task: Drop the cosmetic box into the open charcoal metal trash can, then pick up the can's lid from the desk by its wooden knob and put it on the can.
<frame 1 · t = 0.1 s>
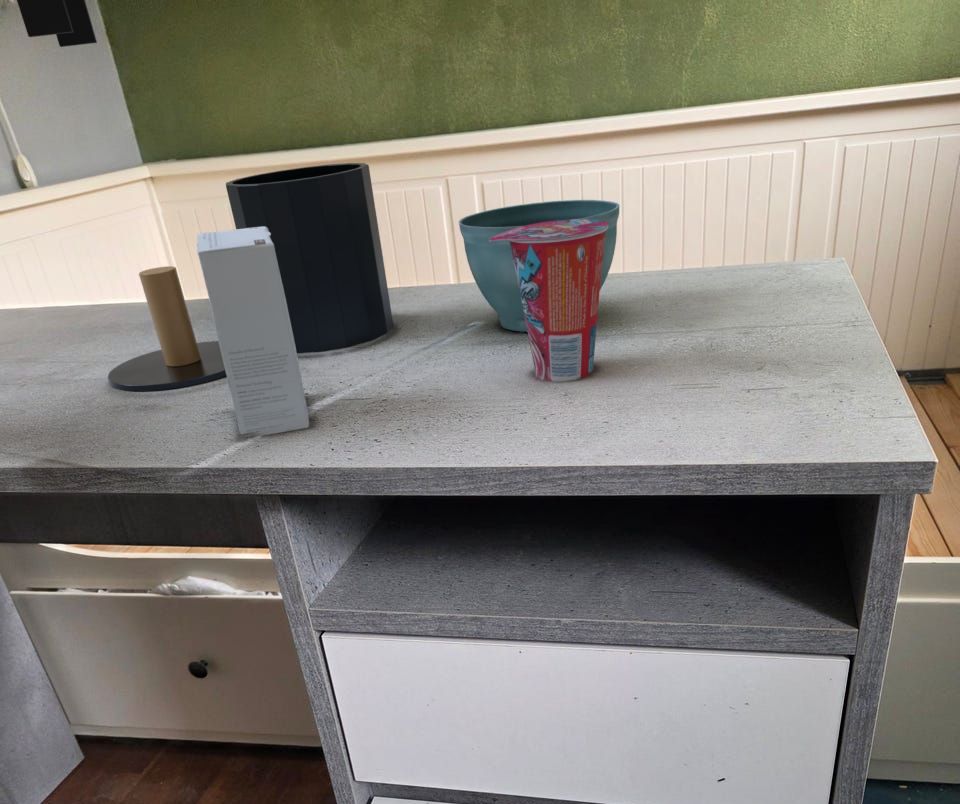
hand: (66, 40, 62), 28 cm above the table, tool pointing down, fingers open, 13 cm apart
cup: (560, 376, 78), on the table
flower pot: (545, 324, 94), on the table
cosmetic box: (276, 422, 76), on the table
trash can: (329, 339, 98), on the table
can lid: (185, 367, 92), point 1 cm above the table
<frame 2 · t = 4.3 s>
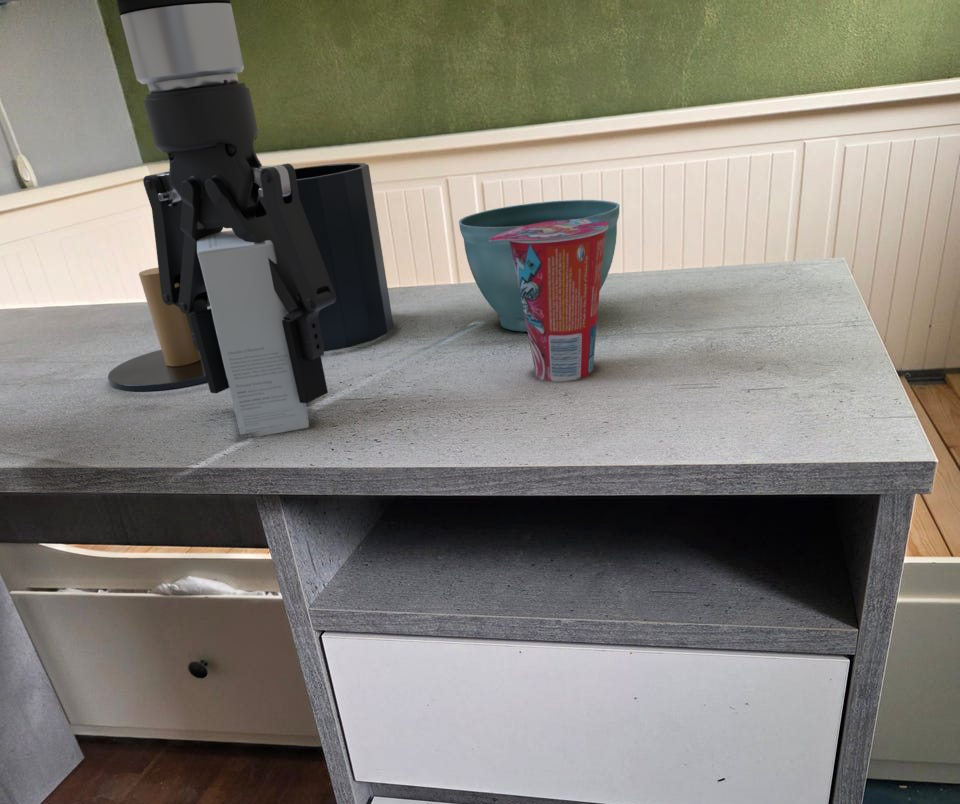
hand: (267, 392, 75), 2 cm above the table, tool pointing down, fingers closed on cosmetic box, 10 cm apart
cosmetic box: (275, 422, 76), on the table, touching gripper
everything else where it was.
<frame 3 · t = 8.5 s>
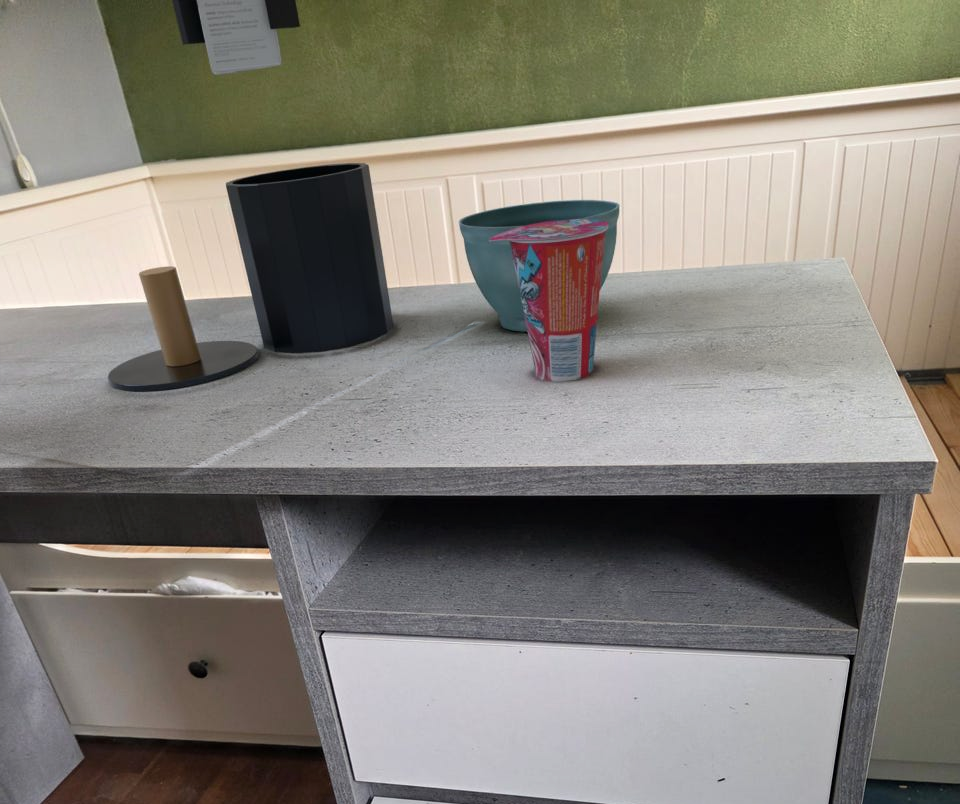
hand: (240, 36, 73), 28 cm above the table, tool pointing down, fingers closed on cosmetic box, 10 cm apart
cosmetic box: (249, 73, 74), point 25 cm above the table, touching gripper
everything else where it was.
when the fingers open (18 cm above the table, at t = 12.6 s): cosmetic box drops 15 cm, resting on trash can.
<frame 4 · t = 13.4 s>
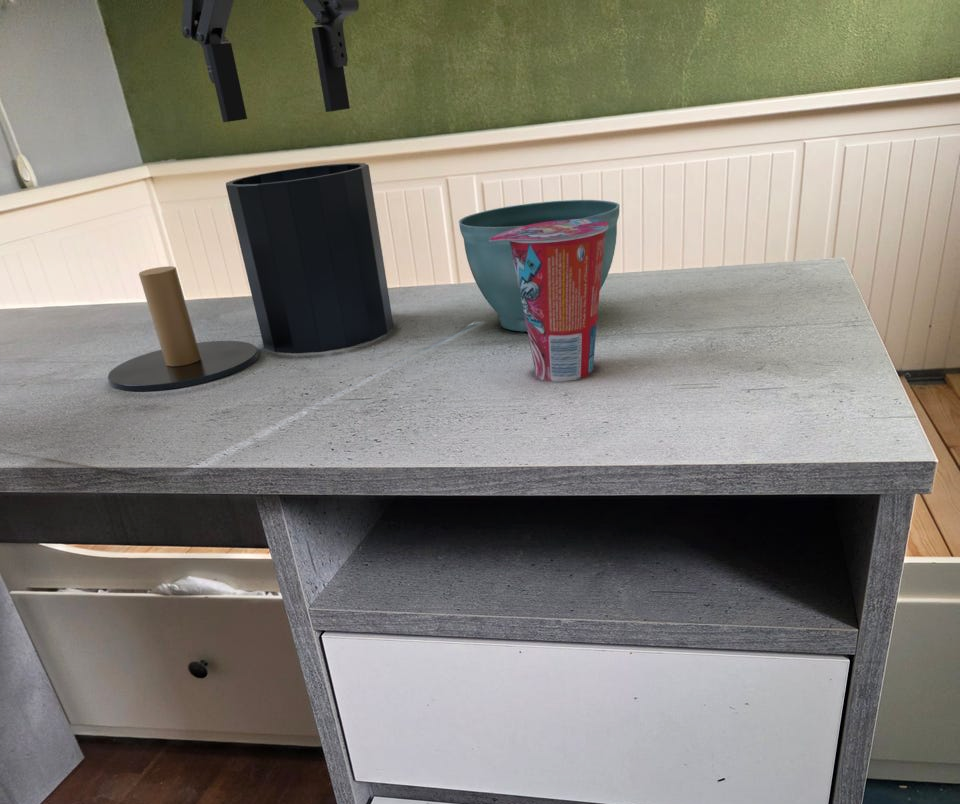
hand: (284, 116, 86), 22 cm above the table, tool pointing down, fingers open, 13 cm apart
cosmetic box: (327, 336, 98), resting on trash can
everything else where it was.
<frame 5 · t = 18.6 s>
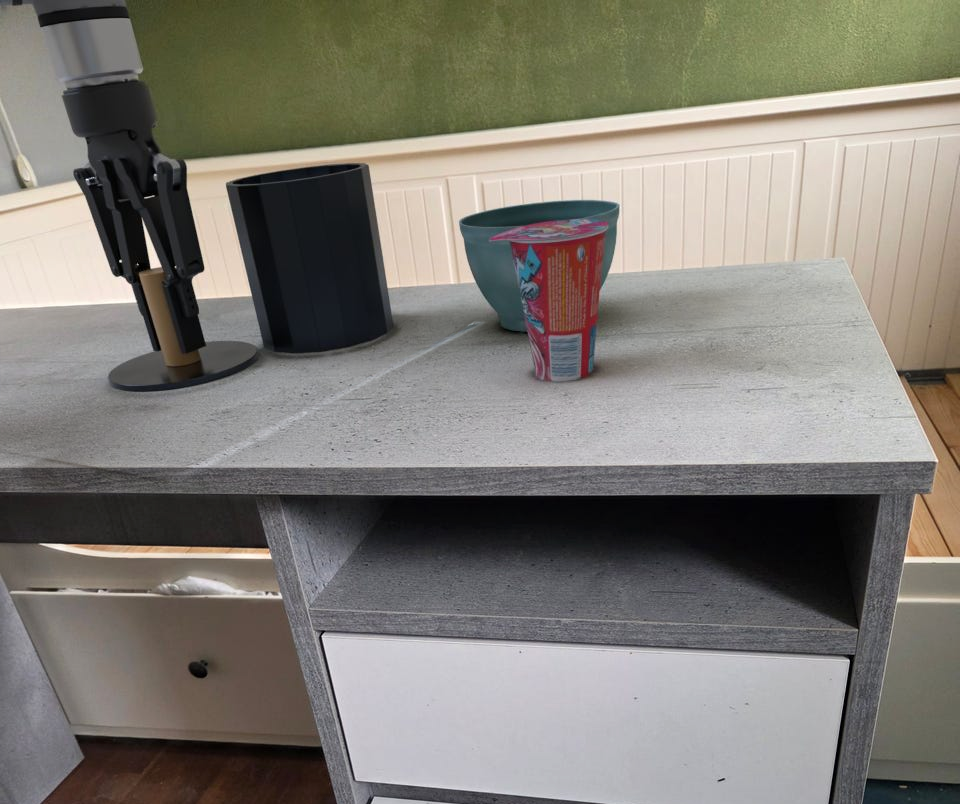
hand: (179, 348, 91), 3 cm above the table, tool pointing down, fingers closed on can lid, 4 cm apart
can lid: (185, 367, 92), point 1 cm above the table, touching gripper
everything else where it was.
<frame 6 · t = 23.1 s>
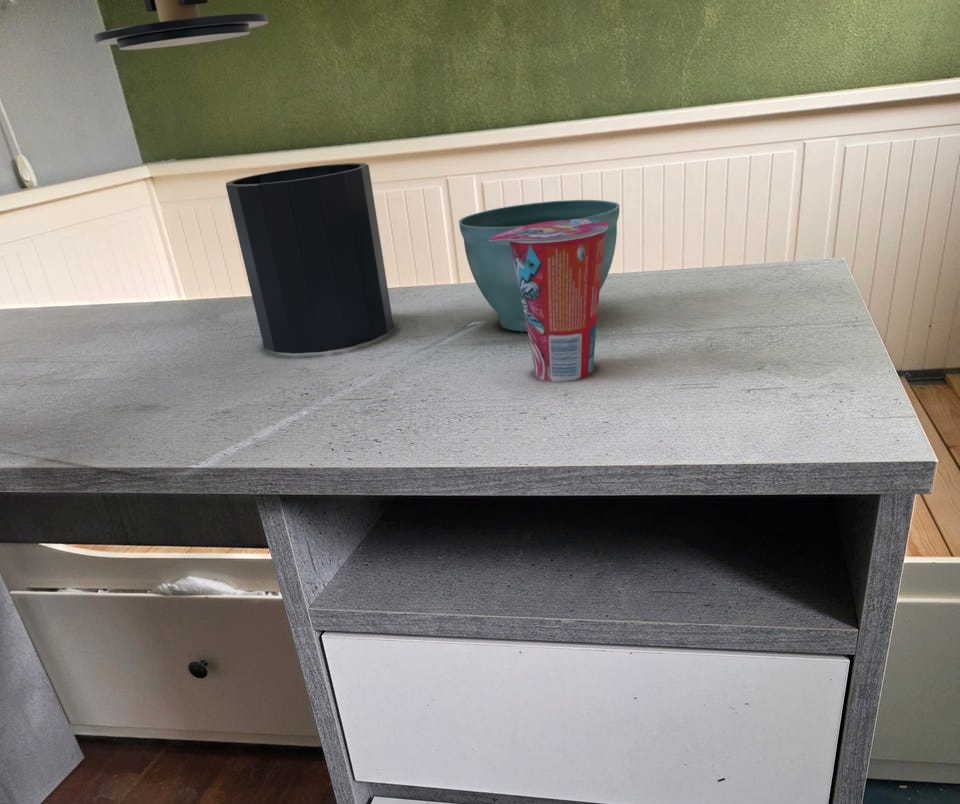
hand: (177, 6, 78), 31 cm above the table, tool pointing down, fingers closed on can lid, 4 cm apart
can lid: (183, 33, 79), point 29 cm above the table, touching gripper
everything else where it was.
when the fingers open (18 cm above the table, at t = 27.6 s): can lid stays where it is, resting on trash can.
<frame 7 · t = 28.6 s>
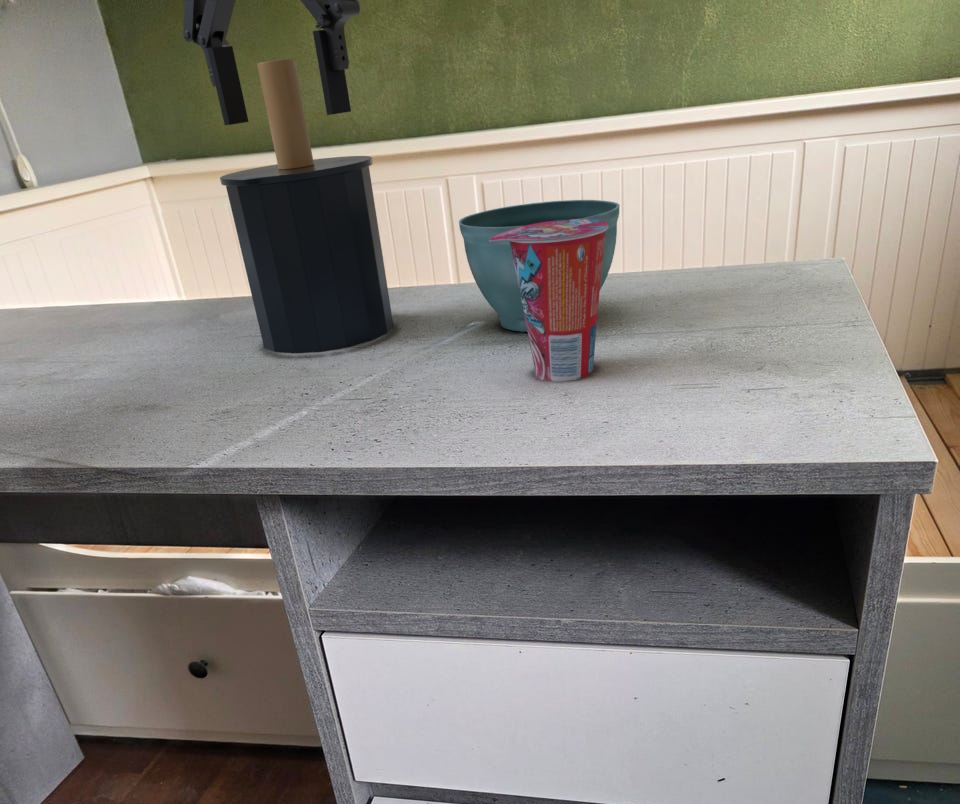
hand: (286, 119, 86), 21 cm above the table, tool pointing down, fingers open, 13 cm apart
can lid: (297, 173, 89), point 16 cm above the table, touching trash can
everything else where it was.
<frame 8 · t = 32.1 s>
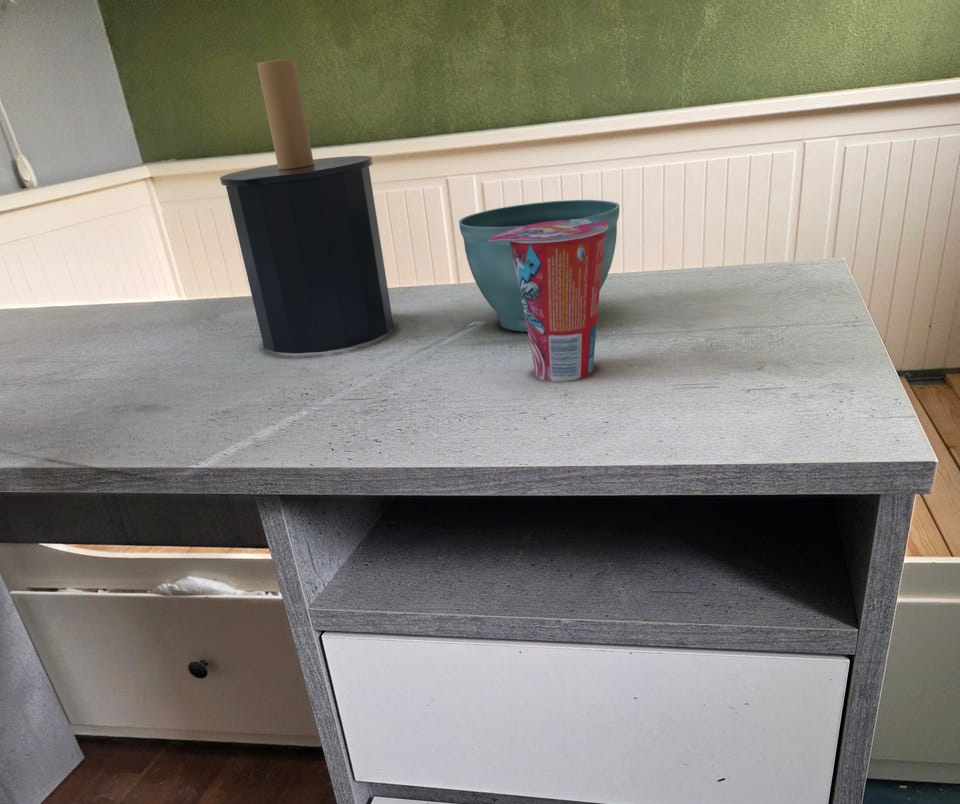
nothing on the table moved.
at the end: cosmetic box inside the target area in the trash can (0.1 cm from its centre), point 0.3 cm above the trash can's base; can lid 0.1 cm off-centre on the trash can, point 16.5 cm above the trash can's base; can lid tilted 0° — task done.
